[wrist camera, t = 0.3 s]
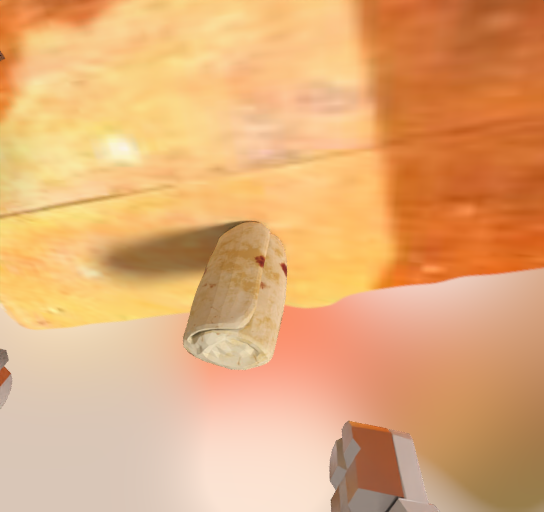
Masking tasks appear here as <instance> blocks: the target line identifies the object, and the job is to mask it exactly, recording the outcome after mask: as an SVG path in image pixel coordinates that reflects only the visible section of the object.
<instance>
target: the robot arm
mask: <svg viewBox="0 0 544 512" xmlns="http://www.w3.org/2000/svg"><path fill="white" fill-rule="evenodd" d="M7 362H8V355H7V352H6V350H3V349H0V409H1V407H2V406H3V405H4V403H5V402H6V400H7V397H8V395H9V393H10V390H11V385H12V377H11V373H10V372H9V371H8V370H7V369H6V368H5V367H4V365H5V364H6V363H7ZM330 482H331V483H332V485H333V486H334V488H335V490H336V491H335V493H334V495H333V497H332V499H331V512H440V511H439V510H438V509H437V507H436V506H435V505H432V504H429V503H428V499H427V495H426V491H425V487H424V483H423V479H422V476H421V471H420V467H419V464H418V459H417V455H416V451H415V447H414V443H413V439H412V437H411V436H410V434H409V433H405V432H399V431H395V430H390V429H389V430H388V429H386V428H382V427H377V426H372V425H367V424H362V423H357V422H352V421H348V422H346V423H345V424H344V426H343V429H342V438H341V439H339V440H337V441H336V442H335V445H334V447H333V449H332V454H331V458H330Z"/></svg>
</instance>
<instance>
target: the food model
mask: <svg viewBox="0 0 544 512" xmlns="http://www.w3.org/2000/svg"><path fill="white" fill-rule="evenodd" d="M286 284H287V259H286V254H285V249H284V246H283V244H282V242H281V240H280V239H279V238H278V237H276V236H275V235H273V234H271V233H270V230H269V229H268V228H266V227H265V226H264V225H263V224H262V223H258V222H245V223H241V224H239V225H237V226H235V227H234V228H232V229H230V230H229V231H227V232H226V233H224V234H223V235H222V236H220V238H219V240H218V242H217V245H216V247H215V249H214V251H213V253H212V255H211V257H210V259H209V261H208V264H207V266H206V269H205V272H204V275H203V277H202V279H201V282H200V284H199V286H198V288H197V291H196V294H195V297H194V300H193V304H192V307H191V311H190V316H189V319H188V323H187V327H186V330H185V333H184V337H183V345H184V348H185V349H186V350H187V351H188V352H189V353H190V354H192V355H193V356H195V357H197V358H199V359H201V360H203V361H206V362H209V363H212V364H215V365H218V366H222V367H225V368H228V369H234V370H247V369H250V368H254V367H257V366H261V365H264V364H266V363H268V362H269V361H270V359H271V358H272V356H273V353H274V349H275V345H276V342H277V337H278V333H279V329H280V325H281V321H282V316H283V309H284V303H285V297H286Z"/></svg>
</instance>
